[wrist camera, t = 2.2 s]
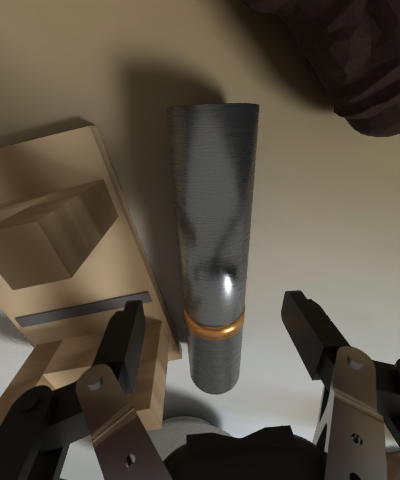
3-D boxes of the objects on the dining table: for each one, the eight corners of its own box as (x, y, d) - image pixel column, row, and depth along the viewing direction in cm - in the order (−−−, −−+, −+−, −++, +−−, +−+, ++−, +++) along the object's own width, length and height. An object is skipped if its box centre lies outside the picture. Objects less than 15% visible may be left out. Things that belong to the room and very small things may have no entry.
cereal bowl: (90, 416, 27) (60, 505, 21) (219, 379, 25) (229, 466, 18) (155, 467, 34) (148, 544, 28) (259, 442, 32) (276, 520, 26)
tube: (174, 112, 13) (154, 106, 9) (253, 108, 12) (269, 100, 8) (192, 344, 22) (186, 393, 18) (238, 346, 22) (242, 396, 18)
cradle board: (96, 125, 13) (-6, 125, 6) (181, 349, 22) (179, 447, 15) (-93, 172, 13) (-372, 218, 7) (66, 370, 23) (15, 473, 16)
